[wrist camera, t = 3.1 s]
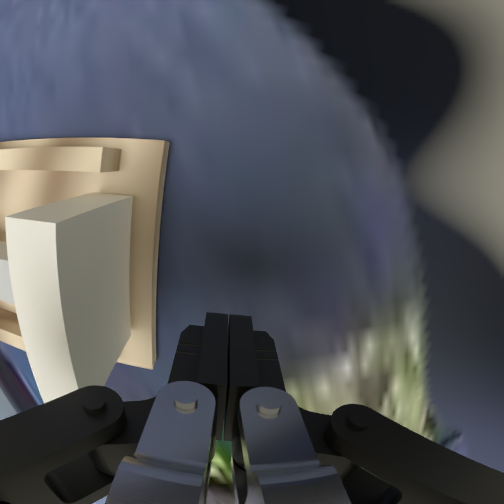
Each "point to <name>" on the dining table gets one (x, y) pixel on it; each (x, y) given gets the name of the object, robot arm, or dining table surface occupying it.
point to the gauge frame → (88, 181)
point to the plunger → (70, 288)
